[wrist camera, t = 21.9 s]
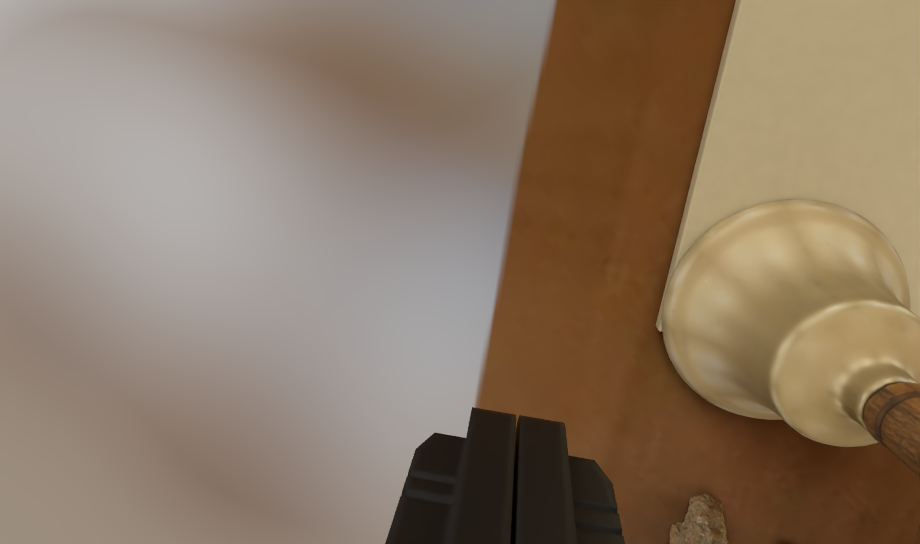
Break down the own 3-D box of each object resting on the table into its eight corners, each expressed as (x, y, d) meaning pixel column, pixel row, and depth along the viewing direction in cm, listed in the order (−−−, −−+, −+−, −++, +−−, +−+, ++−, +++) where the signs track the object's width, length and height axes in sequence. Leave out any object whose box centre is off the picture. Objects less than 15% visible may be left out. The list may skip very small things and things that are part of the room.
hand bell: (840, 149, 20) (1895, 341, 4) (946, 347, 21) (2017, 1003, 6) (617, 279, 22) (817, 709, 7) (728, 450, 23) (1102, 1130, 8)
